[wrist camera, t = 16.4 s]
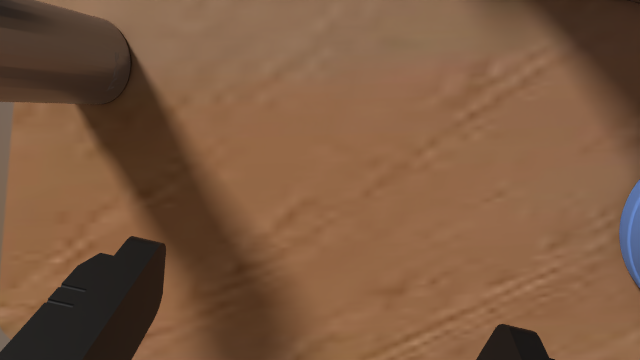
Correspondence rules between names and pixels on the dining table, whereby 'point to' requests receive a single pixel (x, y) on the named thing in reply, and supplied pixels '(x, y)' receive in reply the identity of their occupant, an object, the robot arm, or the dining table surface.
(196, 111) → the dining table surface
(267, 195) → the dining table surface
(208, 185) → the dining table surface
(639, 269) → the water jug
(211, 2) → the dining table surface
